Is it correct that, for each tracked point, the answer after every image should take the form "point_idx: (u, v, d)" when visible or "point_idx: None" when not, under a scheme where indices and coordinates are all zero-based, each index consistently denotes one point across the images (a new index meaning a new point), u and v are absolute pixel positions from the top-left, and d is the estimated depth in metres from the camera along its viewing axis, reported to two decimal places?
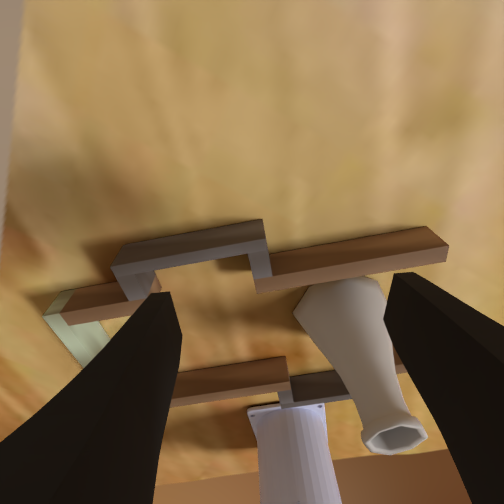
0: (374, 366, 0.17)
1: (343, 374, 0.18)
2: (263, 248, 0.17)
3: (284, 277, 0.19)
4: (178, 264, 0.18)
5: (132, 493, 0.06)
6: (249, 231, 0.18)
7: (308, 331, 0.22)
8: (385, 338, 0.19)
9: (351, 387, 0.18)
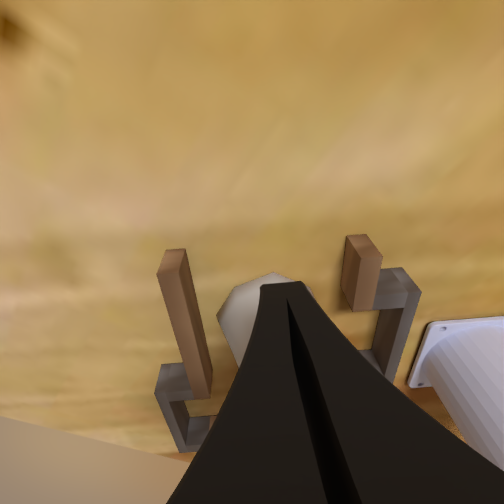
0: None
1: None
2: (163, 394, 0.22)
3: (193, 384, 0.21)
4: (178, 429, 0.25)
5: None
6: None
7: None
8: None
9: None
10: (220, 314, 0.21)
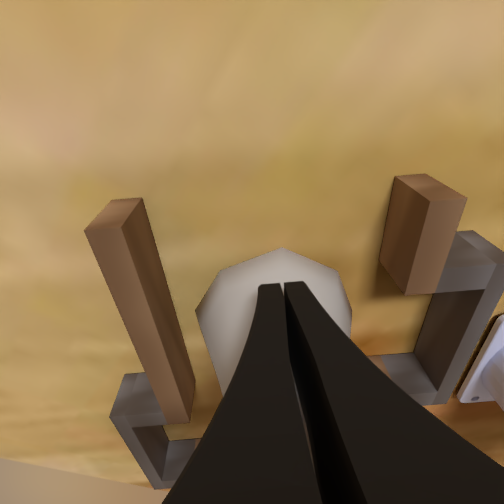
0: None
1: None
2: (123, 417, 0.15)
3: (164, 404, 0.15)
4: (149, 462, 0.18)
5: None
6: None
7: None
8: None
9: None
10: (201, 310, 0.14)
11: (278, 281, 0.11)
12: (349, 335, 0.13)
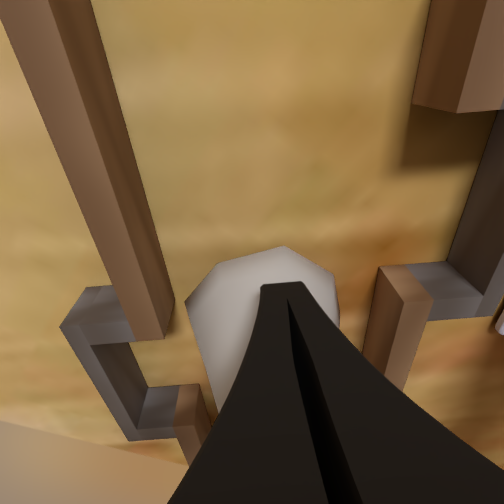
0: None
1: None
2: (77, 329, 0.12)
3: (128, 307, 0.11)
4: (118, 401, 0.15)
5: None
6: None
7: None
8: None
9: None
10: (191, 302, 0.13)
11: (279, 279, 0.11)
12: None
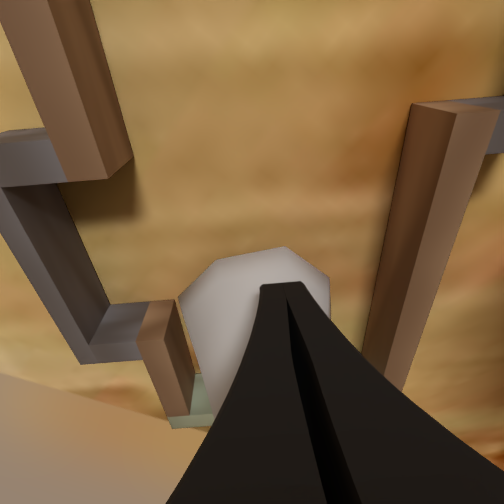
0: None
1: None
2: None
3: (46, 108, 0.08)
4: (58, 295, 0.11)
5: None
6: None
7: None
8: None
9: None
10: (185, 298, 0.13)
11: (279, 279, 0.11)
12: None
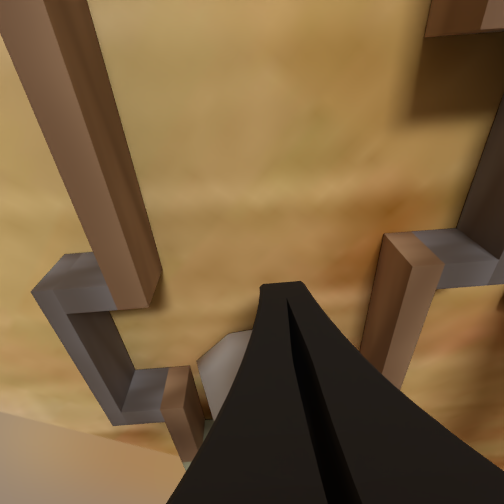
0: None
1: None
2: (51, 294, 0.11)
3: (107, 268, 0.10)
4: (100, 379, 0.14)
5: None
6: None
7: None
8: None
9: None
10: (203, 362, 0.16)
11: None
12: None
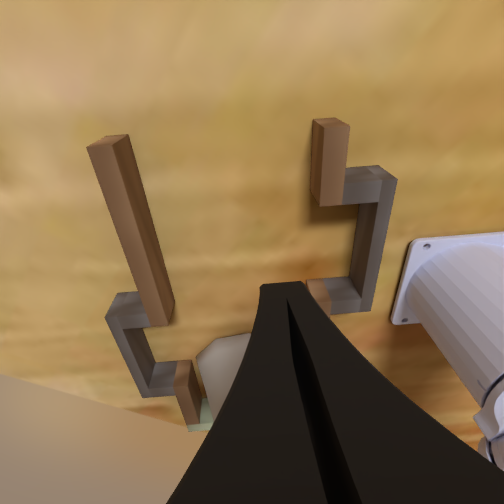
0: None
1: None
2: (115, 319, 0.20)
3: (147, 305, 0.19)
4: (137, 367, 0.23)
5: None
6: None
7: None
8: (224, 397, 0.22)
9: None
10: (200, 357, 0.25)
11: (245, 350, 0.23)
12: None
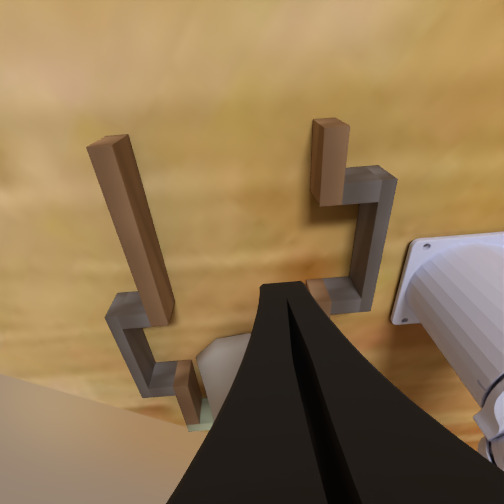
0: None
1: None
2: (115, 319, 0.20)
3: (147, 305, 0.19)
4: (137, 367, 0.23)
5: None
6: None
7: None
8: (224, 397, 0.22)
9: None
10: (200, 357, 0.25)
11: (245, 350, 0.23)
12: None
